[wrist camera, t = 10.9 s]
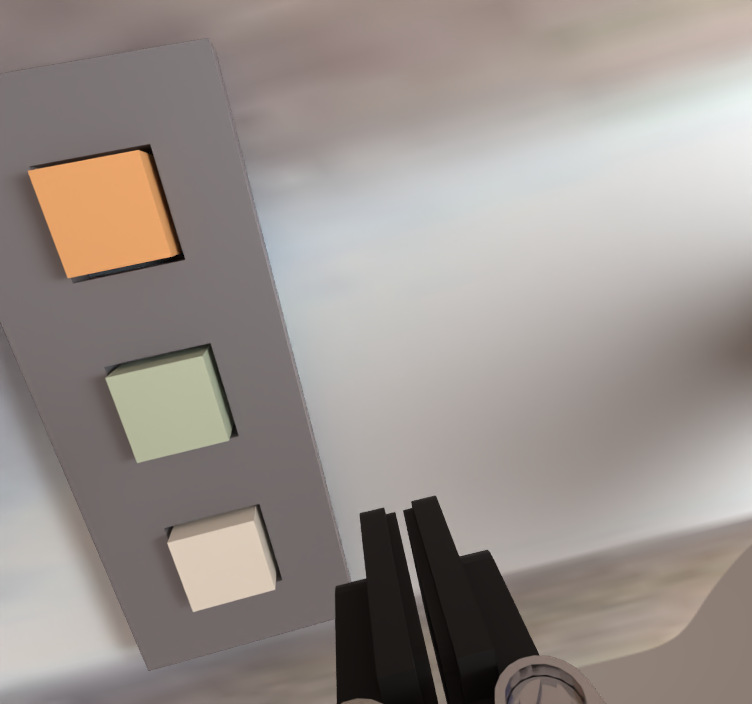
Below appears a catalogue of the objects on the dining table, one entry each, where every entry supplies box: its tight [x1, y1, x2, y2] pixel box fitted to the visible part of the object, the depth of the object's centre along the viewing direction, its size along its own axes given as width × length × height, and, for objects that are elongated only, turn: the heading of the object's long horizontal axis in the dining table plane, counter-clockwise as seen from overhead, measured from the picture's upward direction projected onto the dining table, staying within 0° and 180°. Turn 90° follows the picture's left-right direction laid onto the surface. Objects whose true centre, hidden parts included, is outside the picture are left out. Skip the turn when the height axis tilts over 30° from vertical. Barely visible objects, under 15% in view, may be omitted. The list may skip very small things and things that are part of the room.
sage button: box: [105, 344, 234, 463], centre depth 25 cm, size 4×4×2 cm
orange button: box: [28, 150, 182, 278], centre depth 22 cm, size 4×4×2 cm
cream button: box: [167, 504, 277, 612], centre depth 28 cm, size 4×4×2 cm
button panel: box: [0, 38, 351, 671], centre depth 26 cm, size 12×30×2 cm, turn 11°
